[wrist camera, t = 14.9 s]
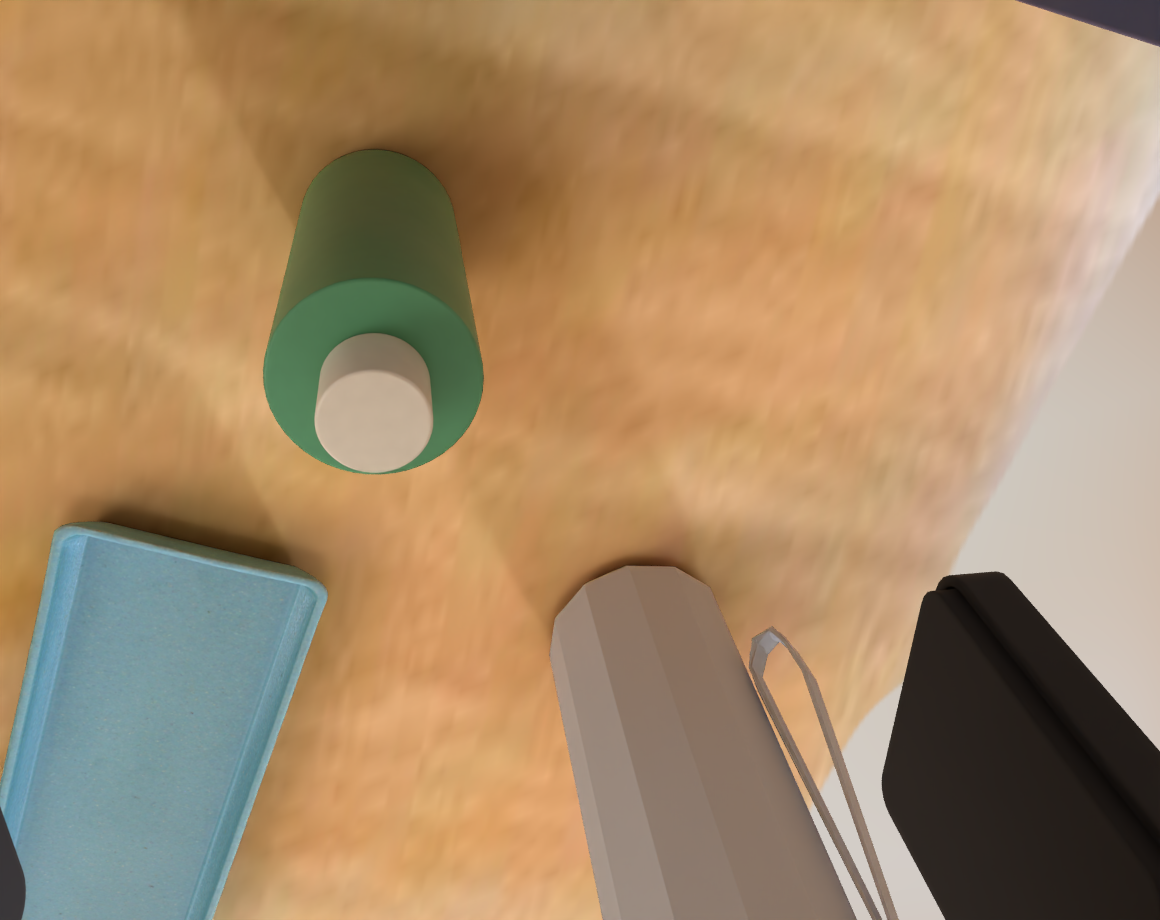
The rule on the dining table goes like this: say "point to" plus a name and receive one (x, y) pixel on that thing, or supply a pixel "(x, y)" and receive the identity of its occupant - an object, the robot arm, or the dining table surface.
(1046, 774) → the robot arm
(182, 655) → the shallow long dish
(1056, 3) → the navy door with handle
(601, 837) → the water bottle
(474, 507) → the dining table surface
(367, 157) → the bottle
